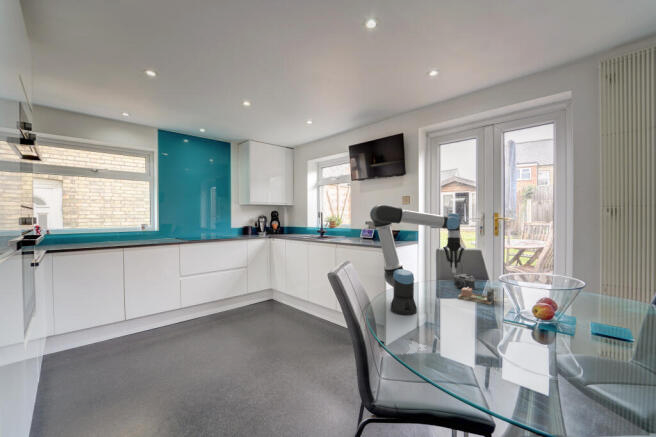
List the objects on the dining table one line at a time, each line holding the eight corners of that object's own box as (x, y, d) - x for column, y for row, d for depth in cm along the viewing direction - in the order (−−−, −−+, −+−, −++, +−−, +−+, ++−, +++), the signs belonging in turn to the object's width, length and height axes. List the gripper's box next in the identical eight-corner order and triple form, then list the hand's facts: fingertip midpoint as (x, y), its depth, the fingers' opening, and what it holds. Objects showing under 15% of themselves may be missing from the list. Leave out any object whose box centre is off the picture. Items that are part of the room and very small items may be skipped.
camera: (447, 285, 198) (447, 272, 198) (457, 284, 202) (457, 271, 202) (466, 291, 184) (466, 277, 183) (476, 289, 188) (476, 275, 188)
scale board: (457, 298, 167) (457, 287, 167) (462, 294, 176) (462, 283, 176) (490, 304, 156) (490, 292, 155) (493, 300, 164) (493, 288, 164)
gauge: (461, 295, 168) (461, 288, 168) (464, 293, 173) (464, 286, 173) (469, 297, 164) (469, 289, 164) (472, 294, 170) (472, 287, 170)
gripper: (441, 236, 175) (441, 272, 175) (463, 237, 167) (463, 275, 167) (445, 236, 181) (445, 270, 181) (465, 236, 172) (466, 272, 173)
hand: (453, 272), depth 174 cm, fingers closed
